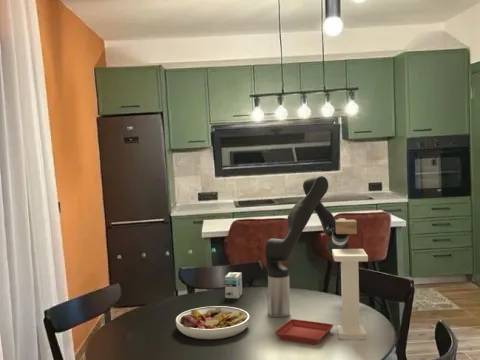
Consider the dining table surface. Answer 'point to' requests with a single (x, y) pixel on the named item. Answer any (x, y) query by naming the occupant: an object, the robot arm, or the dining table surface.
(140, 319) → the dining table surface
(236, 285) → the light bulb box
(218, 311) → the bowl
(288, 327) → the plant saucer
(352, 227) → the beech mallet
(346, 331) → the tall stand
